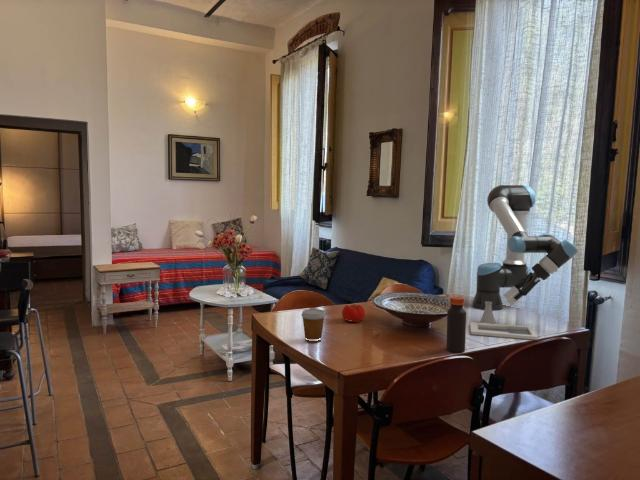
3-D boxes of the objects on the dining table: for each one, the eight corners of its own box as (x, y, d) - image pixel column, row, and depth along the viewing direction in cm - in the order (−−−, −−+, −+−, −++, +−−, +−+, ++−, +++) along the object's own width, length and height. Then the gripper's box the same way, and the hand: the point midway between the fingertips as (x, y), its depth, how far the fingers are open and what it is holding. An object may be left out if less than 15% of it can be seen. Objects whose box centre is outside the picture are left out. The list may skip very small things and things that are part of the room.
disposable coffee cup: (327, 344, 181) (327, 313, 180) (303, 345, 179) (303, 314, 178) (322, 336, 190) (323, 308, 189) (300, 337, 189) (300, 309, 188)
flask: (497, 326, 209) (498, 304, 208) (480, 325, 210) (481, 303, 210) (494, 321, 216) (495, 300, 215) (478, 321, 217) (479, 300, 217)
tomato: (346, 324, 209) (346, 308, 209) (339, 318, 220) (339, 303, 219) (368, 323, 212) (368, 307, 211) (360, 317, 222) (361, 302, 222)
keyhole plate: (469, 325, 210) (470, 321, 210) (532, 330, 202) (532, 326, 202) (471, 334, 194) (471, 331, 194) (538, 340, 187) (538, 336, 187)
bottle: (467, 353, 171) (469, 300, 169) (449, 353, 170) (451, 300, 169) (460, 347, 178) (462, 296, 176) (443, 347, 177) (445, 296, 175)
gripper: (557, 279, 191) (516, 312, 196) (545, 270, 215) (509, 300, 220) (543, 266, 192) (503, 299, 197) (533, 259, 216) (498, 289, 221)
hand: (506, 300), depth 209 cm, fingers open, 13 cm apart
